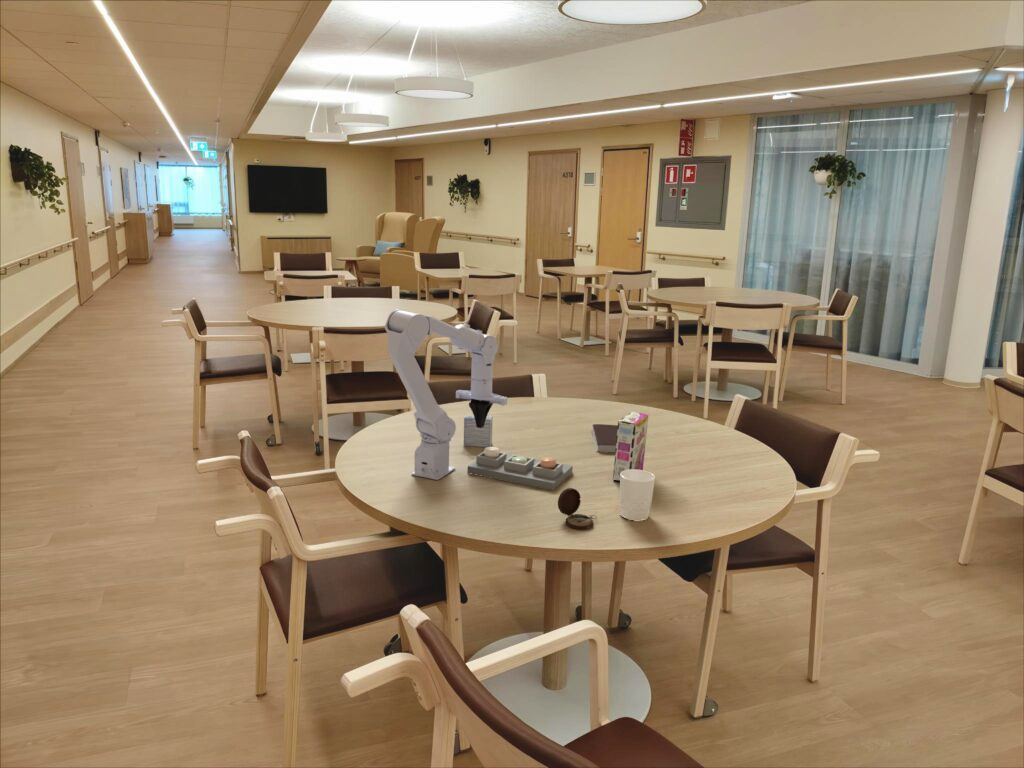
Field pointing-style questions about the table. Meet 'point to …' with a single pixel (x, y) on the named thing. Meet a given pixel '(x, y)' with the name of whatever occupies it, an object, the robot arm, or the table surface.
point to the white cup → (636, 493)
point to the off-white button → (491, 452)
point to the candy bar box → (630, 443)
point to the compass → (573, 509)
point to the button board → (520, 471)
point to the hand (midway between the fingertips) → (480, 426)
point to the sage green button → (519, 460)
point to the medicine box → (477, 432)
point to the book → (605, 437)
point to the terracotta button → (548, 463)
